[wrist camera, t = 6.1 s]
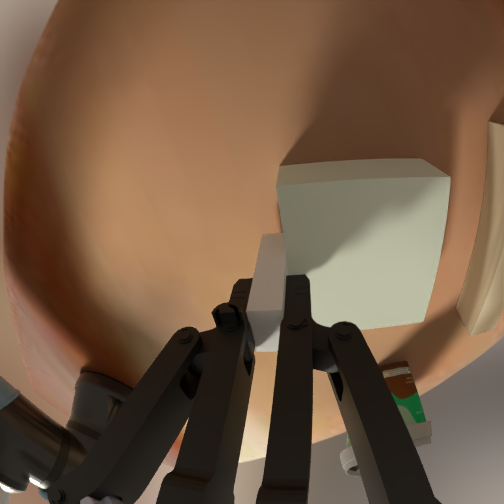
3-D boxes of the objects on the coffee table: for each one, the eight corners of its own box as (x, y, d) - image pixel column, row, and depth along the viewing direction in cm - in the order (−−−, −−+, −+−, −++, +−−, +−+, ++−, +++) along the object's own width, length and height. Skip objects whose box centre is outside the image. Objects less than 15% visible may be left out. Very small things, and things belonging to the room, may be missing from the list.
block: (295, 295, 21) (295, 334, 18) (279, 165, 16) (276, 186, 13) (407, 285, 19) (423, 321, 16) (420, 157, 14) (450, 177, 11)
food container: (359, 351, 24) (370, 449, 15) (413, 352, 23) (434, 440, 15) (325, 408, 30) (324, 480, 22) (369, 408, 30) (374, 476, 21)
